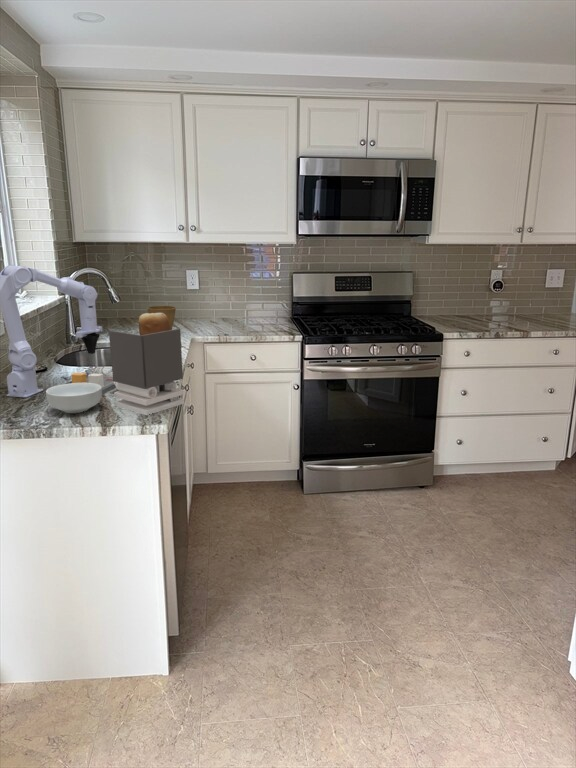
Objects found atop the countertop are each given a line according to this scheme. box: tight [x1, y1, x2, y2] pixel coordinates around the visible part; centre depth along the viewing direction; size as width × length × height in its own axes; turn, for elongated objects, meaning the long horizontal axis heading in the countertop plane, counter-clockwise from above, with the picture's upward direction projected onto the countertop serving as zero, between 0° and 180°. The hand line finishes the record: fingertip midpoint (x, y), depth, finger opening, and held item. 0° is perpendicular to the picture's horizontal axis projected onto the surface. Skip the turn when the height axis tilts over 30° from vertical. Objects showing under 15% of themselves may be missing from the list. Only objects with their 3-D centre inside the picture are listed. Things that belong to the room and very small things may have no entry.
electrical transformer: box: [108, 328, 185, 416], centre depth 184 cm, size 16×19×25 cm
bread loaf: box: [138, 312, 170, 335], centre depth 221 cm, size 14×13×25 cm
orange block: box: [70, 372, 87, 383], centre depth 201 cm, size 3×4×4 cm
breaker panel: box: [86, 373, 116, 395], centre depth 206 cm, size 21×16×6 cm
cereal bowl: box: [45, 383, 103, 414], centre depth 180 cm, size 17×17×7 cm
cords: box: [65, 374, 119, 395], centre depth 210 cm, size 19×22×1 cm
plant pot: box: [146, 305, 176, 330], centre depth 304 cm, size 15×15×16 cm
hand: (91, 353), depth 215 cm, fingers closed
